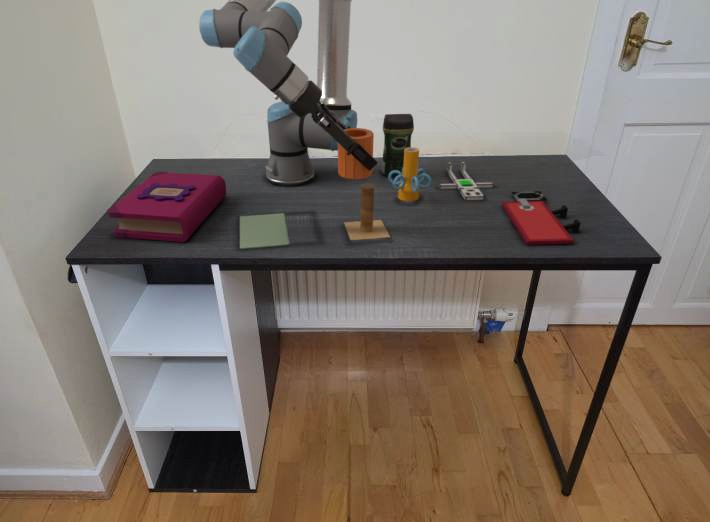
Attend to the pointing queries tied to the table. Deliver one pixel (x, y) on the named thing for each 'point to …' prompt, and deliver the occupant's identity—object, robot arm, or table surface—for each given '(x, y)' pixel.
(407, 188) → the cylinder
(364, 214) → the peg stand
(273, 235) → the mat
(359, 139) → the orange hollow tube
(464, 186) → the robot figure
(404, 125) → the coffee jar
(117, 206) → the book
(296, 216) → the table surface
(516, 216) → the red board with handle
